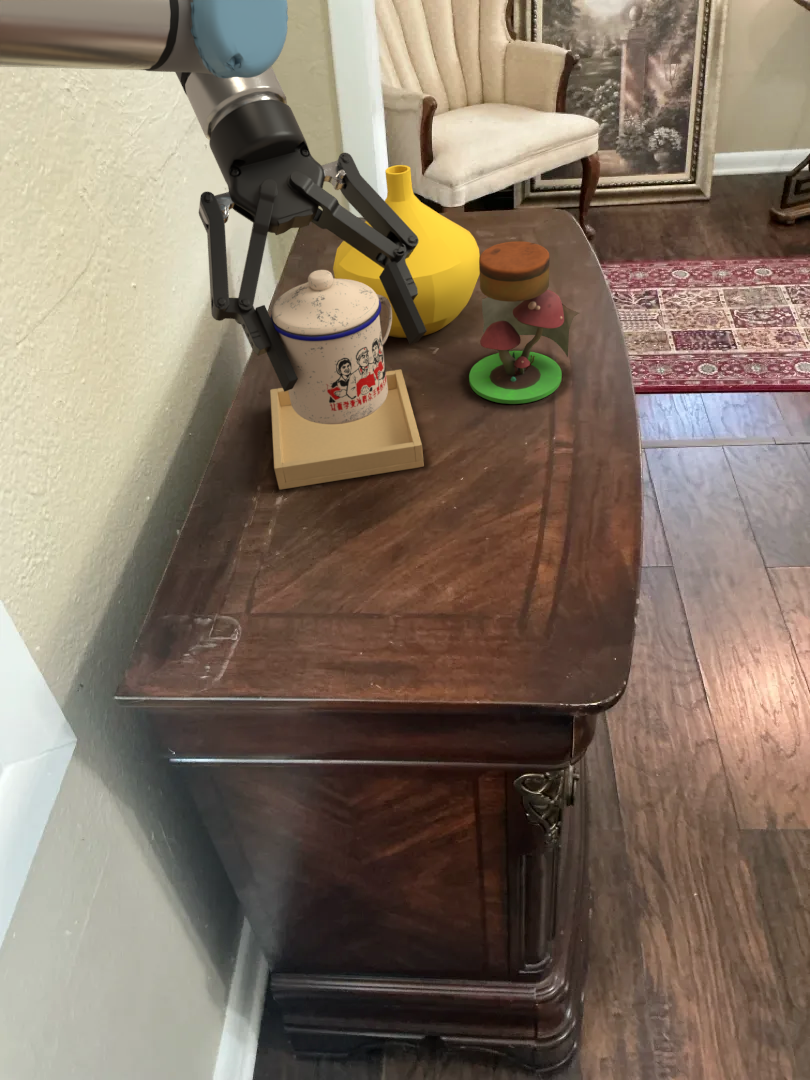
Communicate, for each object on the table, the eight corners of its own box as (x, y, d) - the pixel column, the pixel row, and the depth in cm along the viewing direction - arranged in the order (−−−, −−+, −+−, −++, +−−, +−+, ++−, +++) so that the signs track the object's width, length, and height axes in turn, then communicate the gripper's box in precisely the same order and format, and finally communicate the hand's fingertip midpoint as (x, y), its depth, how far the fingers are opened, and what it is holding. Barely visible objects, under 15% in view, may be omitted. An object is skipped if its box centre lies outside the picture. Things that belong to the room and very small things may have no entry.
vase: (328, 355, 108) (302, 203, 95) (357, 287, 121) (338, 145, 108) (474, 356, 105) (468, 198, 92) (488, 286, 118) (484, 139, 105)
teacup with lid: (342, 440, 71) (321, 312, 64) (267, 407, 76) (239, 284, 68) (432, 374, 78) (423, 250, 70) (358, 347, 83) (341, 228, 75)
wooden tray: (279, 490, 89) (274, 468, 87) (274, 410, 100) (270, 389, 98) (424, 466, 89) (421, 444, 87) (403, 389, 101) (401, 369, 99)
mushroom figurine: (565, 412, 94) (570, 284, 84) (454, 402, 98) (446, 277, 88) (582, 356, 102) (589, 233, 92) (478, 348, 106) (474, 229, 96)
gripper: (362, 116, 80) (460, 332, 80) (112, 184, 72) (220, 422, 72) (383, 63, 72) (491, 300, 72) (108, 132, 65) (229, 396, 65)
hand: (356, 361), depth 72 cm, fingers closed on teacup with lid, 11 cm apart
